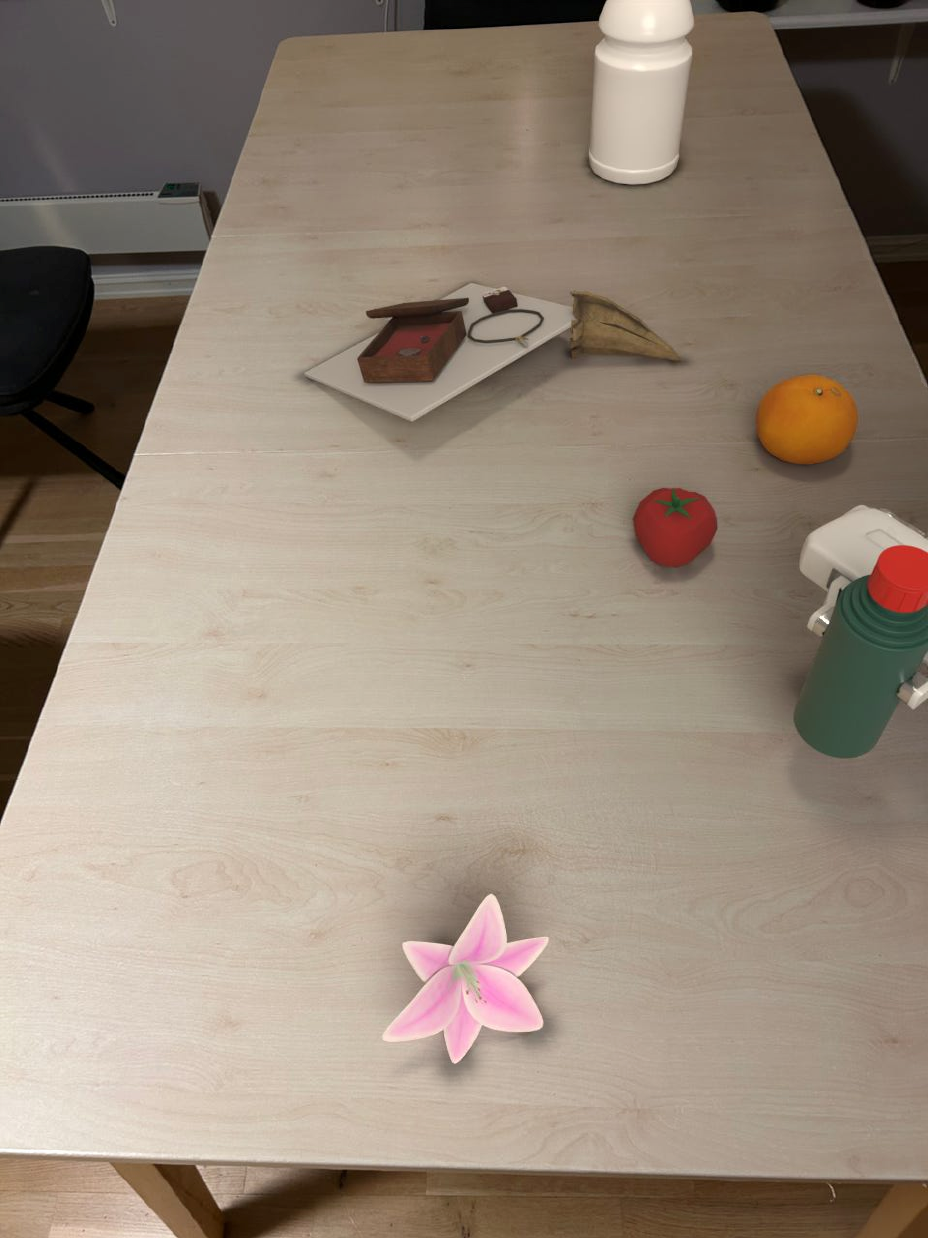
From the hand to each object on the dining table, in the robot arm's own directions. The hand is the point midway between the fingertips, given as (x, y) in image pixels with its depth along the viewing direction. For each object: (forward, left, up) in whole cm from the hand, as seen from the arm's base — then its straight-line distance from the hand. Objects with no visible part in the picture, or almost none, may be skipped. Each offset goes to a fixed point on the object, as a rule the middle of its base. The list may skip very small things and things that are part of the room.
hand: (860, 662), depth 67 cm
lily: (+14, +31, -16) cm, 38 cm away
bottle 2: (0, -1, -9) cm, 9 cm away
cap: (0, -1, +9) cm, 9 cm away
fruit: (+15, -39, -16) cm, 44 cm away
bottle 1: (+60, -90, -16) cm, 109 cm away
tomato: (+21, -18, -16) cm, 31 cm away
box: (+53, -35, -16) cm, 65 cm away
